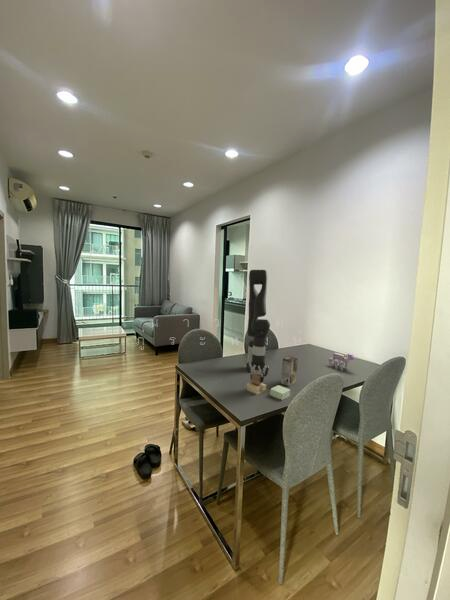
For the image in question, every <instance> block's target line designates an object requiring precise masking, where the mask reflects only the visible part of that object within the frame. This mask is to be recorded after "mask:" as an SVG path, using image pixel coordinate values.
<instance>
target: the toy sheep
mask: <svg viewBox="0 0 450 600" xmlns="http://www.w3.org/2000/svg"><path fill="white" fill-rule="evenodd" d="M352 360H357V358H356V357H355V356H354V354H353V353H351V352H348V353H345V354H341V353H338V352H333V354H332V357H329V358H328V361H329V362H328V363H329V367H330V368H331V367H332V365H333V366H335V369H336V370H338V367H339V368H340V371H341V372H343V371H344V369H345V370H347V368H348V364H349V363H350V361H352ZM332 362H333V364H332ZM344 364H345V365H344Z"/></svg>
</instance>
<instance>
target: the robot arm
mask: <svg viewBox="0 0 450 600" xmlns="http://www.w3.org/2000/svg"><path fill="white" fill-rule="evenodd" d="M248 285H249V288H248V289H249V292H248V293H249V294H248V295H249V296H248V322H247V330H246V331H247V336H248V337H252V338H253V340H250V341H249V342H248V347H247V349H248V350H247V362H246V370H247V373H248V374H250V380H252V374H253V373H254V372H257V373H260V374H261V381H260V383H263V382H264V380H265V379H264V378H265V377H267V375H268V373H269V371H270V365H266V344H267V343H266V342H267V341H266V340H267V336H268V333H269V331H270V327H271V323H270V321H269V320H268V319H263V318H262V317H264V316H266V314H267V301H266V300H267V289H268V272H267V270H266V269H251V270H249V273H248ZM255 285H259V286H260V285H261V287H260V291H259V292H258V291H257V290H256V286H255ZM260 318H262V319H260ZM264 369H265V371H264Z"/></svg>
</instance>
